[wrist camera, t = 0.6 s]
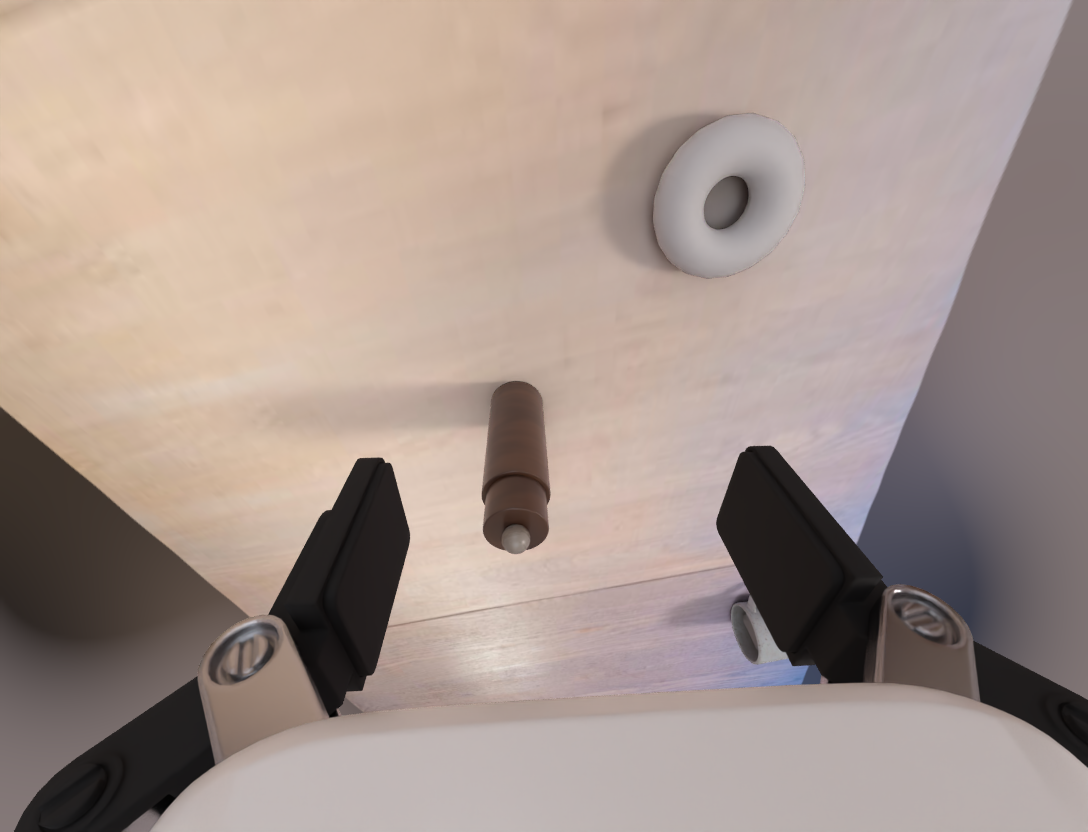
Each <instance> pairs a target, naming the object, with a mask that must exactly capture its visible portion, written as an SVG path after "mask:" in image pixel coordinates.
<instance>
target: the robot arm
mask: <svg viewBox="0 0 1088 832" xmlns="http://www.w3.org/2000/svg"><path fill="white" fill-rule="evenodd" d="M716 525H717V530H718V533H719V535H720V537H721V539H722V541H723V542H724V544H725V546H726V548H727V550H728V552H729V554H730V556H731V558H732V560H733V562H734V564H735V566H736V568H737V570H738V572H739V574H740V576H741V578H742V579H743V581H744V583H745V585H746V587H747V589H748V591H749V593H750V595H751V597H752V599H753V601H754V603H755V605H756V607H757V609H758V611H759V613H760V615H761V616H762V618H763V620H764V622H765V624H766V626H767V628H768V630H769V632H770V634H771V636H772V638H773V640H774V642H775V644H776V645H777V647H778V648H779V649H780V651H782V652H786V654H787V656H788V658H789V660H790V662H791V664H792V666H804V665H815V664H816V666H817V668H818V669H819V671H820V673H821V675H822V676H821V683H820V684H811V685H785V686H767V687H748V688H730V689H711V690H693V691H675V692H658V693H641V694H624V695H607V696H590V697H574V698H557V699H541V700H526V701H510V702H495V703H479V704H464V705H448V706H436V707H424V708H412V709H400V710H388V711H375V712H368V713H360V714H353V715H345V716H341V714H340V712H339V709H338V708H339V707H340V706H341V705H342V704H343V701H344V698H345V695H346V692H347V691H362V690H363V687H364V683H365V679H366V676H368V675H372V674H373V673H374V671H375V669H376V666H377V662H378V658H379V655H380V651H381V647H382V643H383V640H384V636H385V632H386V629H387V625H388V621H389V617H390V614H391V610H392V606H393V603H394V599H395V595H396V591H397V588H398V584H399V580H400V577H401V573H402V569H403V565H404V562H405V558H406V554H407V551H408V547H409V542H410V532H409V527H408V524H407V520H406V516H405V513H404V509H403V505H402V501H401V498H400V494H399V490H398V487H397V483H396V479H395V475H394V472H393V468H392V465H391V464H390V463H385V461H384V459H383V458H359V459H358V460H357V461H356V463H355V465H354V467H353V469H352V471H351V473H350V475H349V477H348V478H347V480H346V482H345V484H344V486H343V488H342V490H341V492H340V494H339V496H338V498H337V500H336V502H335V504H334V506H333V508H332V510H327V511H325V512H324V513H322V515H321V516H320V518H319V519H318V521H317V523H316V525H315V527H314V529H313V531H312V533H311V535H310V536H309V538H308V540H307V542H306V544H305V546H304V548H303V550H302V552H301V553H300V555H299V557H298V559H297V561H296V563H295V565H294V567H293V569H292V571H291V572H290V574H289V576H288V578H287V580H286V582H285V584H284V586H283V588H282V590H281V591H280V593H279V595H278V597H277V599H276V601H275V603H274V605H273V607H272V608H271V610H270V612H269V614H268V615H259V616H254V617H250V618H248V619H245V620H243V621H241V622H239V623H237V624H235V625H233V626H232V627H231V628H229V629H228V630H227V631H225V632H224V633H222V634H221V635H220V636H219V637H218V638H217V639H216V640H215V641H214V642H213V643H212V644H211V646H210V647H209V648H208V650H207V651H206V653H205V654H204V656H203V657H202V660H201V663H200V665H199V668H198V676H197V677H196V678H194V679H193V680H191V681H190V682H188V683H187V684H185V685H184V686H182V687H181V688H179V689H178V690H176V691H175V692H174V693H172V694H171V695H169V696H167V697H166V698H165V699H163V700H162V701H160V702H159V703H157V704H156V705H154V706H153V707H151V708H150V709H148V710H147V711H145V712H144V713H143V714H141V715H139V716H138V717H137V718H135V719H134V720H132V721H131V722H129V723H128V724H126V725H125V726H123V727H122V728H120V729H119V730H117V731H116V732H114V733H113V734H111V735H110V736H108V737H107V738H105V739H104V740H103V741H101V742H100V743H98V744H97V745H95V746H94V747H92V748H91V749H89V750H88V751H86V752H85V753H83V754H82V755H80V756H79V757H77V758H76V759H75V760H73V761H72V762H71V763H70V764H68V765H67V766H66V767H64V768H63V769H62V770H61V771H59V772H58V773H57V774H55V775H54V777H52V778H51V779H50V780H49V782H48V783H47V784H46V785H45V786H44V787H43V788H42V789H41V790H40V791H39V792H38V793H37V794H36V796H35V797H34V798H33V800H32V801H31V802H30V804H29V805H28V807H27V808H26V809H25V811H24V812H23V814H22V816H21V818H20V820H19V822H18V824H17V826H16V829H15V830H14V832H1088V700H1087V699H1085V698H1083V697H1082V696H1080V695H1078V694H1076V693H1074V692H1072V691H1070V690H1068V689H1066V688H1064V687H1062V686H1060V685H1058V684H1056V683H1054V682H1052V681H1051V680H1049V679H1047V678H1045V677H1043V676H1041V675H1039V674H1037V673H1035V672H1033V671H1031V670H1029V669H1027V668H1025V667H1023V666H1021V665H1019V664H1017V663H1015V662H1014V661H1012V660H1010V659H1008V658H1006V657H1004V656H1002V655H1000V654H998V653H996V652H994V651H992V650H990V649H988V648H986V647H984V646H982V645H980V644H979V643H977V642H975V641H973V638H972V635H971V632H970V629H969V627H968V626H967V624H966V623H965V621H964V620H963V618H962V617H961V616H960V615H959V614H958V613H957V612H956V611H955V610H954V609H953V608H952V607H951V606H949V605H948V604H946V603H945V602H944V601H942V600H941V599H940V598H938V597H936V596H934V595H932V594H930V593H929V592H927V591H925V590H922V589H919V588H916V587H913V586H909V585H902V584H899V585H892V586H890V587H887V586H886V585H885V584H884V583H883V581H882V580H881V579H882V578H883V576H882V575H881V574H880V573H879V571H878V570H877V569H876V568H875V567H874V565H873V564H872V563H871V562H870V561H869V559H868V558H867V557H866V556H865V555H864V554H863V552H862V551H861V550H860V549H859V548H858V546H857V545H856V544H855V543H854V542H853V540H852V539H851V538H850V537H849V536H848V534H847V533H846V532H845V531H844V530H843V528H842V527H841V526H840V525H839V524H838V523H837V521H836V520H835V519H834V518H833V517H832V515H831V514H830V513H829V512H828V511H827V509H826V508H825V507H824V506H823V505H822V503H821V502H820V501H819V500H818V499H817V498H816V496H815V495H814V494H813V493H812V492H811V490H810V489H809V488H808V487H807V486H806V484H805V483H804V482H803V481H802V480H801V478H800V477H799V476H798V475H797V474H796V473H795V471H794V470H793V469H792V468H791V467H790V465H789V464H788V463H787V462H786V461H785V459H784V458H783V457H782V456H781V455H780V453H779V452H778V451H777V450H776V449H775V448H774V447H772V446H750V447H748V448H747V449H746V450H745V452H742V453H740V455H739V457H738V460H737V463H736V466H735V469H734V472H733V474H732V477H731V480H730V483H729V486H728V489H727V491H726V494H725V497H724V500H723V503H722V506H721V508H720V511H719V514H718V517H717V521H716Z"/></svg>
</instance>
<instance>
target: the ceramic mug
mask: <svg viewBox="0 0 1088 832" xmlns="http://www.w3.org/2000/svg"><path fill="white" fill-rule="evenodd" d="M731 622H732V628H733V631H734V634H735V637H736V640H737V642H738V645H739V647H740V649H741V651H742V652H743V654H744V655H745V657H746V658H747V659H748V660H749V661H750V662H751V663H753V664H763V663H767V662H772V661H777V660H783V659H789V658H788V656H787V654H786V652H782V651H780V649H779V648H778V647H777V645H776V644H775V642H774V640H773V638H772V636H771V634H770V632H769V630H768V628H767V626H766V624H765V622H764V620H763V618H762V616H761V615H760V613H759V611H758V609H757V607H756V605H755V603H754V601H753V599H752V597H751V595H750V596H749V599H748V602H739V603H735V604H734V605H733V606H732V609H731Z"/></svg>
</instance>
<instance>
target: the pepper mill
mask: <svg viewBox="0 0 1088 832" xmlns="http://www.w3.org/2000/svg"><path fill="white" fill-rule="evenodd" d="M482 500H483V503H484V505H485V511H484V522H483V534H484V536H485V538H486V540H487V541H488V542H489V543H490V544H491V545H493V546H495V547H497V548H499V549H502V550H506V551H508V552H509V553H511V554H520V553H522V552H524V551H525V550H528V549H531V548H534V547H536V546H538V545H539V544H541V543H542V542H543V541H544V540H545V538H546V537H547V534H548V531H549V525H548V512H547V504H548V502H549V500H550V483H549V472H548V460H547V449H546V437H545V426H544V415H543V403H542V398H541V395H540V393H539V392H538V390H537V389H536V388H534V387H533V386H532V385H530V384H528V383H525V382H518V381H515V382H509V383H506V384H504V385H502V386H500V387H499V388H498V389H497V390H496V391H495V392H494V394H493V396H492V400H491V408H490V418H489V428H488V437H487V447H486V457H485V466H484V476H483V486H482Z"/></svg>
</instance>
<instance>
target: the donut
mask: <svg viewBox="0 0 1088 832" xmlns="http://www.w3.org/2000/svg"><path fill="white" fill-rule="evenodd" d="M728 176H738V177H741V178H742V179H744V180H745V182H746V184H747V186H748V192H749V198H748V204H747V206H746V208H745V210H744V212H743V214H742V215H741V217H740V218H739V219H738V220H737V221H736V222H735V223H734V224H732V225H731V226H729V227H727V228H724V229H719V230H717V229H713V228H711V227H710V226H708V225H707V223H706V221H705V218H704V204H705V201H706V198H707V196H708V194H709V192H710V191H711V189H712V188H713V187H714V186H715V185H716V184H717V183H718V182H719V181H720V180H722V179H724V178H726V177H728ZM804 189H805V168H804V158H803V155H802V153H801V151H800V148H799V146H798V143H797V141H796V138H795V136H793V135H792V134H791V133H790V132H789V131H788V130H787V129H786V128H785V127H784V126H783V125H782V124H781V123H780V122H779V121H777V120H774V119H771V118H767V117H764V116H761V115H758V114H755V113H747V114H738V115H729V116H725V117H723V118H721V119H719V120H717V121H715V122H713V123H711V124H709V125H707V126H705V127H703V128H701V129H699V130H698V131H697V132H696V133H695V134H694V135H693V136H692V137H690V138H689V139H688V140H687V141H686V142H685V143H684V144H683V145H682V146H681V147H680V148H678V150H677V151H676V153H675V154H674V156H673V158H672V159H671V161H670V162H669V164H668V165H667V167H666V168H665V170H664V171H663V173H662V176H661V179H660V182H659V185H658V188H657V191H656V194H655V197H654V212H653V225H654V229H655V233H656V237H657V241H658V244H659V246H660V248H661V249H662V251H663V252H664V254H665V255H666V257H667V258H668V260H669V261H670V263H672V264H673V265H675V266H676V267H678V268H679V269H681V270H682V271H683V272H685V273H687V274H690V275H694V276H699V277H703V278H707V279H710V278H719V277H728V276H731V275H733V274H736V273H738V272H741V271H743V270H745V269H748V268H750V267H752V266H753V265H755V264H756V263H757V262H759V261H760V260H761V259H763V258H764V257H766V256H767V255H768V254H770V253H771V252H772V251H773V249H774V248H775V247H776V246H777V245H778V244H779V242H780V241H781V240H782V239H783V238H784V237H785V235H786V234H787V233H788V231H789V229H790V227H791V225H792V223H793V221H794V219H795V218H796V216H797V214H798V212H799V209H800V205H801V201H802V197H803V193H804Z"/></svg>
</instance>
